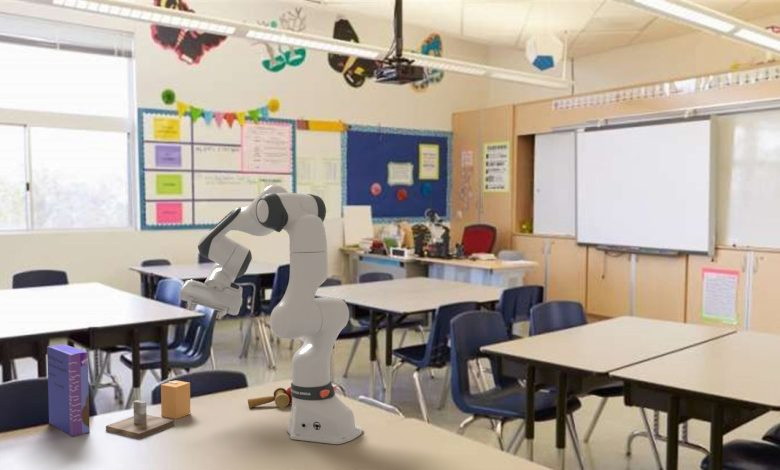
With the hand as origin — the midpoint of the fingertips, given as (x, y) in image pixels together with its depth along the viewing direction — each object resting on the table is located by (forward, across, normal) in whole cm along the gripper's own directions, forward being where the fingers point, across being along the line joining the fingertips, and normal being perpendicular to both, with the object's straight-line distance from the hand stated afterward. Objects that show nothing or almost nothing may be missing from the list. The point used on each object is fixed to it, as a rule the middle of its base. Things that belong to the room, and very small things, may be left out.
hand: (203, 313), depth 211 cm
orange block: (+21, +2, +26) cm, 33 cm away
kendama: (+10, +31, +22) cm, 39 cm away
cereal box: (+34, -26, +28) cm, 51 cm away
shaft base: (+32, -6, +21) cm, 39 cm away
